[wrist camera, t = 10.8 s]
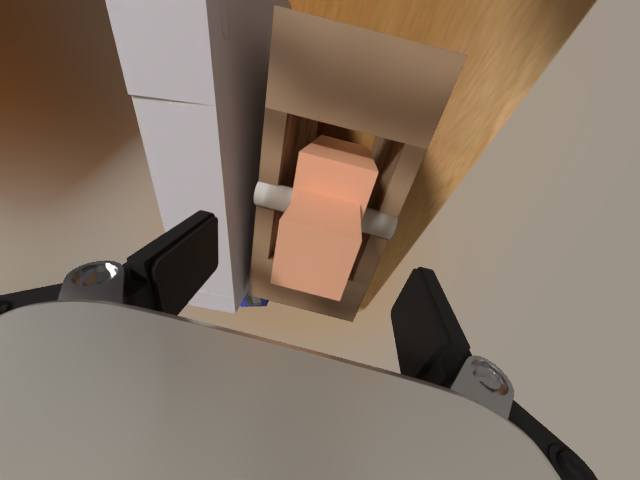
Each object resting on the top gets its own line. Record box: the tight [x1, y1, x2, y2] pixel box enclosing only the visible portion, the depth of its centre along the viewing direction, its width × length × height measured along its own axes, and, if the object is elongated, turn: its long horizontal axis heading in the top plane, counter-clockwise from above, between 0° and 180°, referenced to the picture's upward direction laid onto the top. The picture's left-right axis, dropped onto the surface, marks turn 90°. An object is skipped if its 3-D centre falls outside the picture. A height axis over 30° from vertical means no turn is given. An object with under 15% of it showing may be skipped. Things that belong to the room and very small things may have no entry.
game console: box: [105, 0, 291, 313], centre depth 25 cm, size 6×27×20 cm, turn 173°
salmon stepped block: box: [270, 135, 379, 301], centre depth 19 cm, size 8×5×16 cm, turn 167°
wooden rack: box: [248, 5, 468, 322], centre depth 26 cm, size 22×11×19 cm, turn 167°
